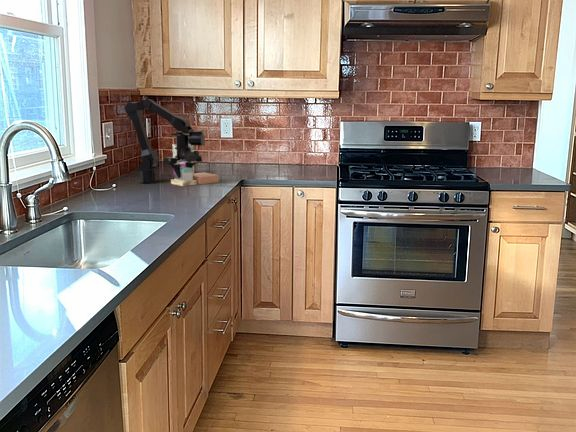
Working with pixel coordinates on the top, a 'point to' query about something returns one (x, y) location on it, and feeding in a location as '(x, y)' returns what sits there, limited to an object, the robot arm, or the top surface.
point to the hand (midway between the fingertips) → (183, 177)
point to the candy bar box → (176, 155)
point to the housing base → (184, 176)
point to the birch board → (183, 182)
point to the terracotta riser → (205, 178)
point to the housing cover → (185, 169)
